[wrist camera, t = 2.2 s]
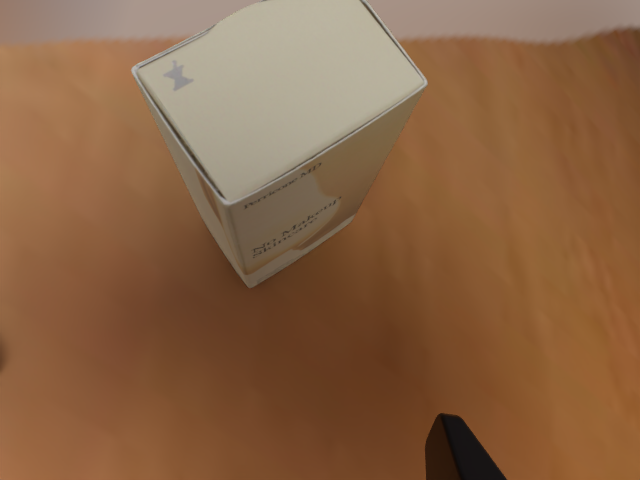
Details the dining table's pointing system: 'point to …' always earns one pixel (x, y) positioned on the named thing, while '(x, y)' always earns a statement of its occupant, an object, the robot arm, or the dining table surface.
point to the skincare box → (281, 122)
